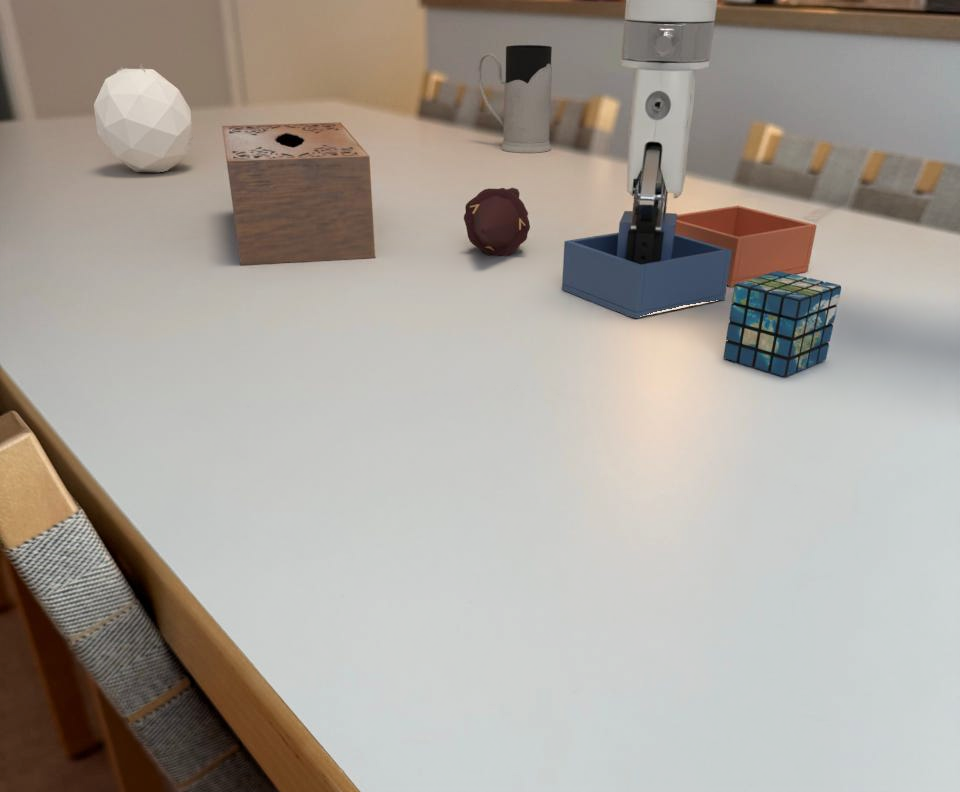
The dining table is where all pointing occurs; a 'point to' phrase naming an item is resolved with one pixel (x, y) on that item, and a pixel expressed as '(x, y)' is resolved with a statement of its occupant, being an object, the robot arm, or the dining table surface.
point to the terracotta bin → (752, 240)
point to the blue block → (667, 228)
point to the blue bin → (644, 275)
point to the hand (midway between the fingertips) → (644, 266)
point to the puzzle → (781, 322)
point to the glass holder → (524, 98)
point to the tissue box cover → (299, 193)
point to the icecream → (497, 221)
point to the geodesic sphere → (143, 120)
